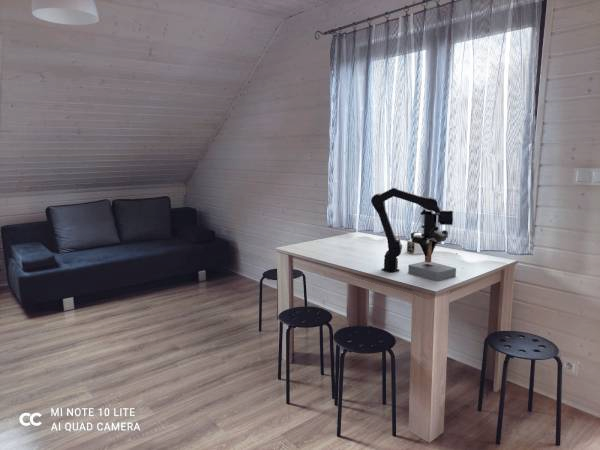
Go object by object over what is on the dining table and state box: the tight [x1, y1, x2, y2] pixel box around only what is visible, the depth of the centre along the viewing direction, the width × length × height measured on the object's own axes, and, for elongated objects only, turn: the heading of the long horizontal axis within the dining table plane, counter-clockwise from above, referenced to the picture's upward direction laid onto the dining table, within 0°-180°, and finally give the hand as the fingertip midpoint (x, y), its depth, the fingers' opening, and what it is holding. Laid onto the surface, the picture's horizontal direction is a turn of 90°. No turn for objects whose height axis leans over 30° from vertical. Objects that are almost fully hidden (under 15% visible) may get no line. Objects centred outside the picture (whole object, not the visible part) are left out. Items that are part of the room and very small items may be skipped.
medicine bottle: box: [406, 231, 424, 256], centre depth 260 cm, size 7×7×12 cm
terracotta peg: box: [424, 241, 433, 262], centre depth 216 cm, size 3×3×10 cm
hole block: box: [407, 260, 457, 282], centre depth 216 cm, size 14×17×4 cm
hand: (428, 255), depth 217 cm, fingers closed on terracotta peg, 3 cm apart
